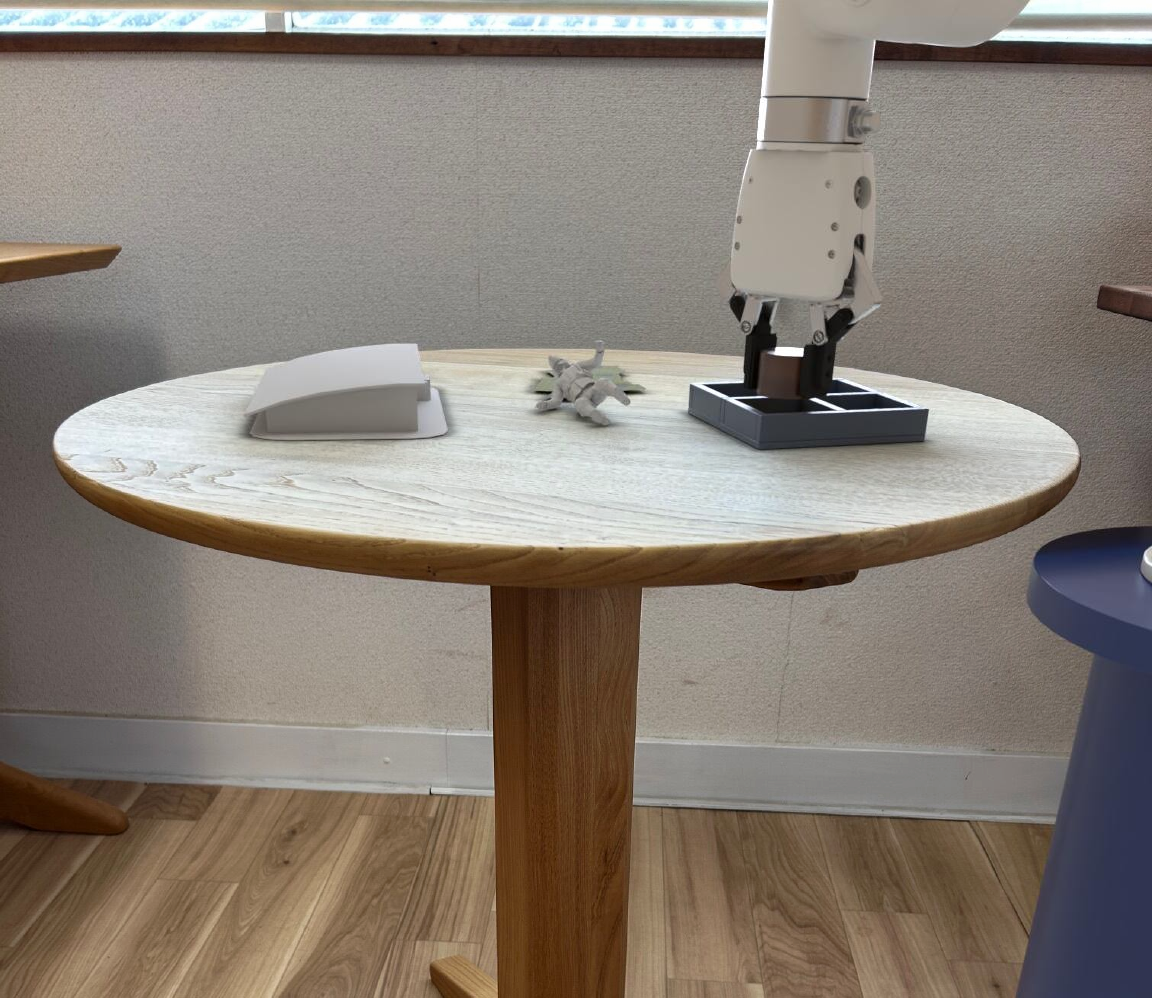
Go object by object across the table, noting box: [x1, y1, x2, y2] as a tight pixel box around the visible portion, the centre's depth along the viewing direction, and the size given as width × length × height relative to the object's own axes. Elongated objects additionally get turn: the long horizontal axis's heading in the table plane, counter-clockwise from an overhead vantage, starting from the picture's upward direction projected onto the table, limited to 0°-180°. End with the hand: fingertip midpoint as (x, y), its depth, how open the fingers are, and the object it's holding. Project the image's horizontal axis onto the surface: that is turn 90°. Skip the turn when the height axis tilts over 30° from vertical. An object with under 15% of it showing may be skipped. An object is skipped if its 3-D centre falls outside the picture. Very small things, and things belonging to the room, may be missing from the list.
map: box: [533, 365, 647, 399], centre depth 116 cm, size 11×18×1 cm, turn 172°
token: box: [756, 346, 804, 400], centre depth 95 cm, size 4×4×3 cm
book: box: [244, 343, 449, 441], centre depth 102 cm, size 15×23×4 cm, turn 8°
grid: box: [687, 377, 930, 450], centre depth 100 cm, size 14×14×2 cm
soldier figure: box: [534, 339, 632, 426], centre depth 103 cm, size 8×5×12 cm
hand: (785, 389), depth 96 cm, fingers closed on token, 4 cm apart
